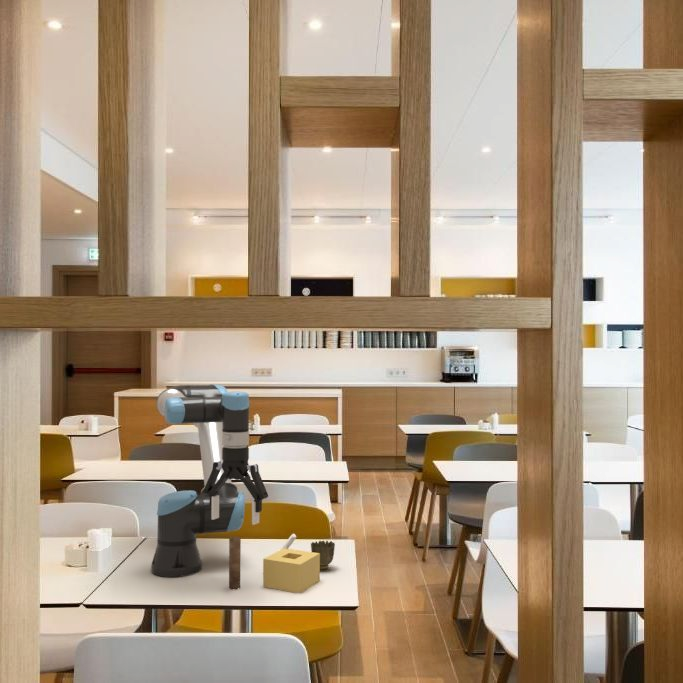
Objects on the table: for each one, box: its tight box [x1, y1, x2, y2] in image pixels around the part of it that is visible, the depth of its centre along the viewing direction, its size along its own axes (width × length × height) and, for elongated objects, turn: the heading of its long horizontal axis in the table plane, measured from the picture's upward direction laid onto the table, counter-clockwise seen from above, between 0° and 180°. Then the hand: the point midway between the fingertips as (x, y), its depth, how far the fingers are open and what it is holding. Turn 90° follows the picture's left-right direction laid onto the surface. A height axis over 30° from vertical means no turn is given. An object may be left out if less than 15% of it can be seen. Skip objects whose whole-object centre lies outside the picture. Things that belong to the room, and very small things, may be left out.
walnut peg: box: [228, 536, 242, 590], centre depth 206 cm, size 3×3×14 cm
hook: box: [280, 533, 297, 550], centre depth 227 cm, size 8×12×7 cm
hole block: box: [262, 548, 321, 594], centre depth 210 cm, size 12×12×8 cm
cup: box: [310, 540, 336, 571], centre depth 223 cm, size 8×7×8 cm
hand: (235, 521), depth 206 cm, fingers open, 13 cm apart
